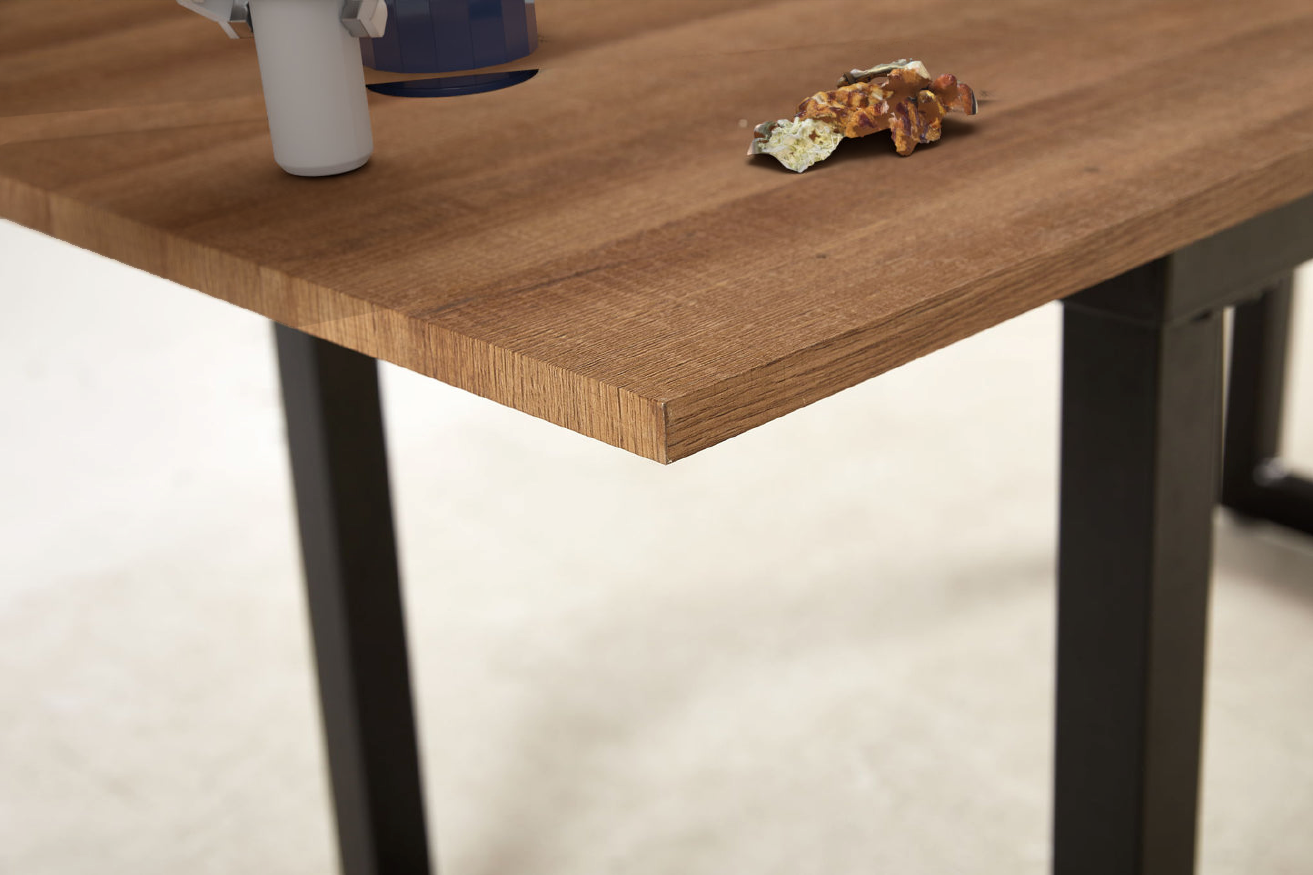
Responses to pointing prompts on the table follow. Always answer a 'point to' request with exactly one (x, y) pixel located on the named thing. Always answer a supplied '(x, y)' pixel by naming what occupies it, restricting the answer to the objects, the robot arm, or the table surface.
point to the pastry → (866, 113)
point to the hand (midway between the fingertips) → (309, 26)
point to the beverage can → (312, 86)
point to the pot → (451, 45)
